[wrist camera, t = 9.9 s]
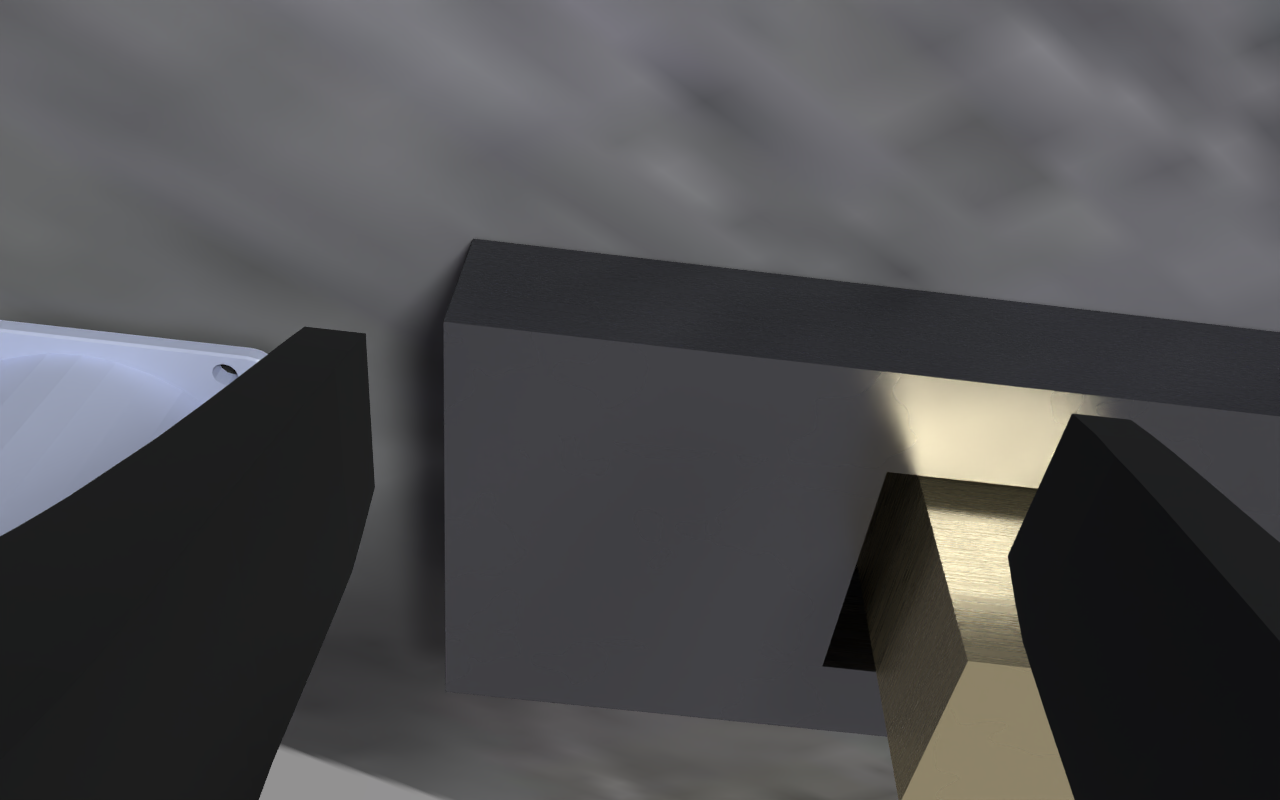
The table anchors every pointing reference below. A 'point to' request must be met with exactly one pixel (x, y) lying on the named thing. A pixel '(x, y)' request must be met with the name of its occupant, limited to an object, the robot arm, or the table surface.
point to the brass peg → (954, 643)
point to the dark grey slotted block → (762, 463)
